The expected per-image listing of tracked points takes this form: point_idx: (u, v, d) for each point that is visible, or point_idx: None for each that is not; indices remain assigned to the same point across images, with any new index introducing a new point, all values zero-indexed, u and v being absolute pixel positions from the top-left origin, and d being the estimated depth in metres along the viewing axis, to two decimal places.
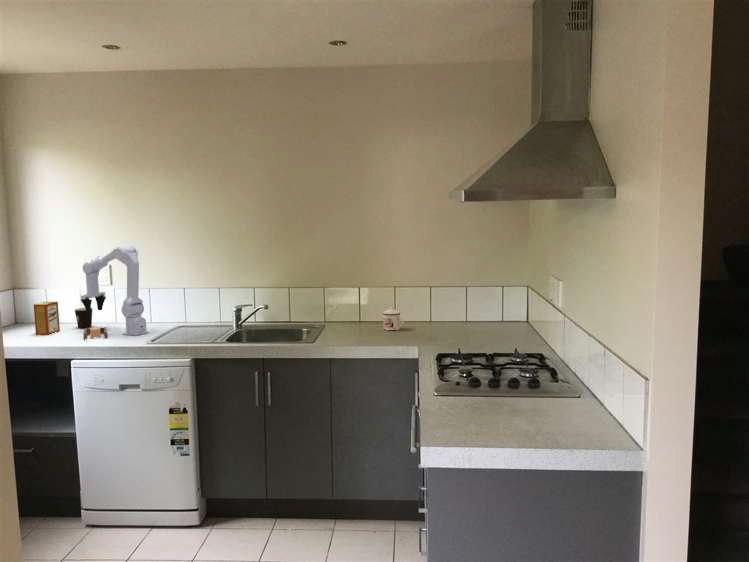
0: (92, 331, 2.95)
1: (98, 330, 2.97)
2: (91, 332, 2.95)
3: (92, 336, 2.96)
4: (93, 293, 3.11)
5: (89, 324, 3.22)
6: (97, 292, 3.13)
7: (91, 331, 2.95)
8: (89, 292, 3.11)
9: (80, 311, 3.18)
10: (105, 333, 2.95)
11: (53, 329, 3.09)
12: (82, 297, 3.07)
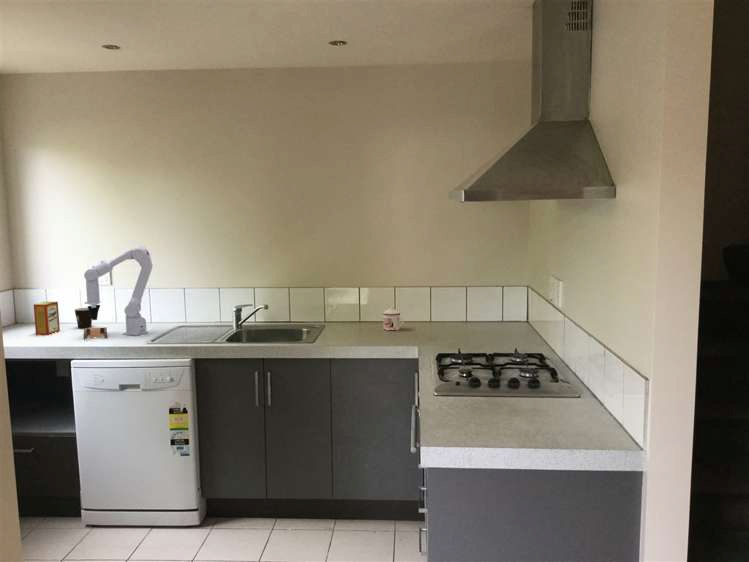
0: (92, 331, 2.95)
1: (98, 330, 2.97)
2: (91, 332, 2.95)
3: (92, 336, 2.96)
4: (98, 300, 3.00)
5: (89, 324, 3.22)
6: (99, 299, 3.02)
7: (91, 331, 2.95)
8: (94, 300, 2.98)
9: (80, 311, 3.18)
10: (105, 333, 2.95)
11: (53, 329, 3.09)
12: (93, 305, 2.94)
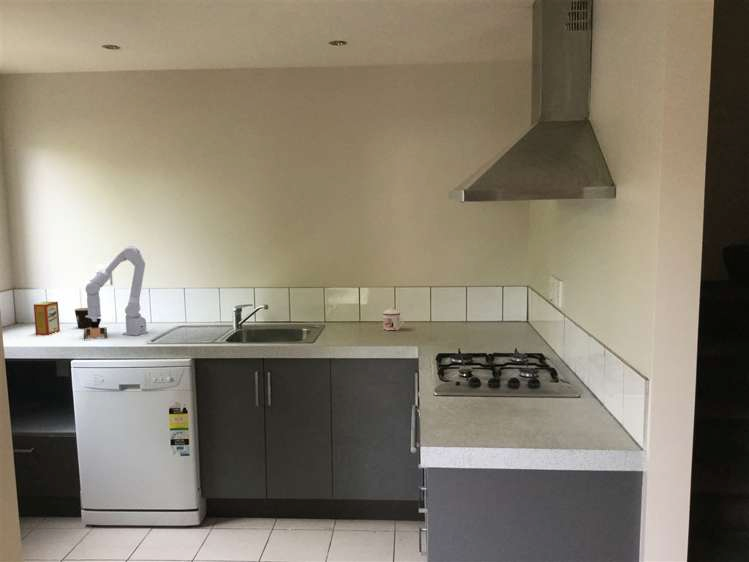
0: (92, 331, 2.95)
1: (98, 330, 2.96)
2: (91, 332, 2.95)
3: (92, 336, 2.95)
4: (99, 314, 2.99)
5: (89, 324, 3.22)
6: (100, 313, 3.01)
7: (91, 331, 2.95)
8: (95, 314, 2.98)
9: (80, 311, 3.18)
10: (105, 333, 2.95)
11: (53, 329, 3.09)
12: (94, 319, 2.94)
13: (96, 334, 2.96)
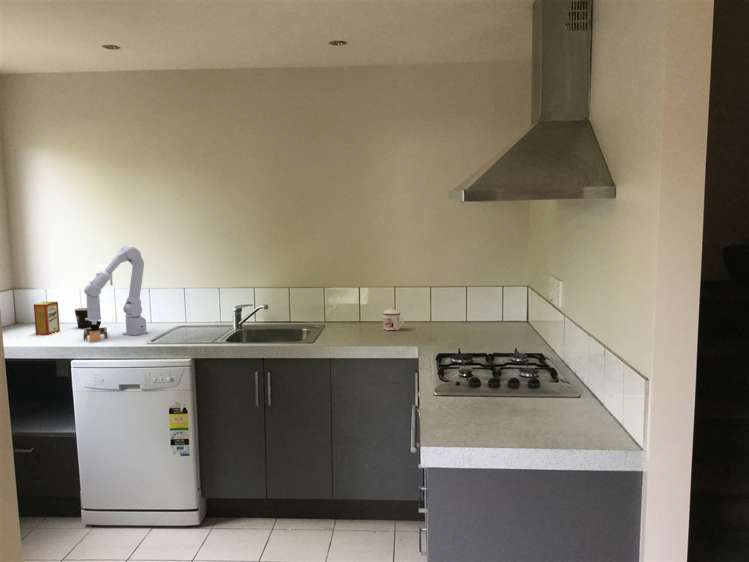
0: (92, 334, 2.88)
1: (98, 333, 2.89)
2: (91, 335, 2.88)
3: (92, 339, 2.88)
4: (99, 317, 2.92)
5: None
6: (100, 315, 2.94)
7: (91, 334, 2.87)
8: (95, 316, 2.90)
9: (80, 311, 3.18)
10: (105, 333, 2.95)
11: (53, 329, 3.09)
12: (94, 322, 2.86)
13: (96, 337, 2.89)
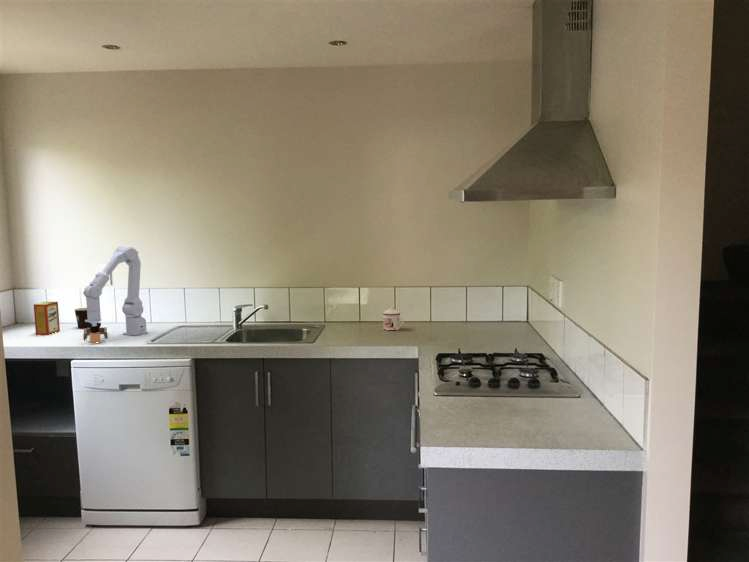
0: (92, 336, 2.83)
1: (98, 335, 2.84)
2: (91, 337, 2.83)
3: (92, 341, 2.84)
4: (99, 318, 2.87)
5: None
6: (100, 317, 2.90)
7: (90, 336, 2.83)
8: (95, 318, 2.86)
9: (80, 311, 3.18)
10: (105, 333, 2.95)
11: (53, 329, 3.08)
12: (94, 324, 2.82)
13: (96, 339, 2.84)
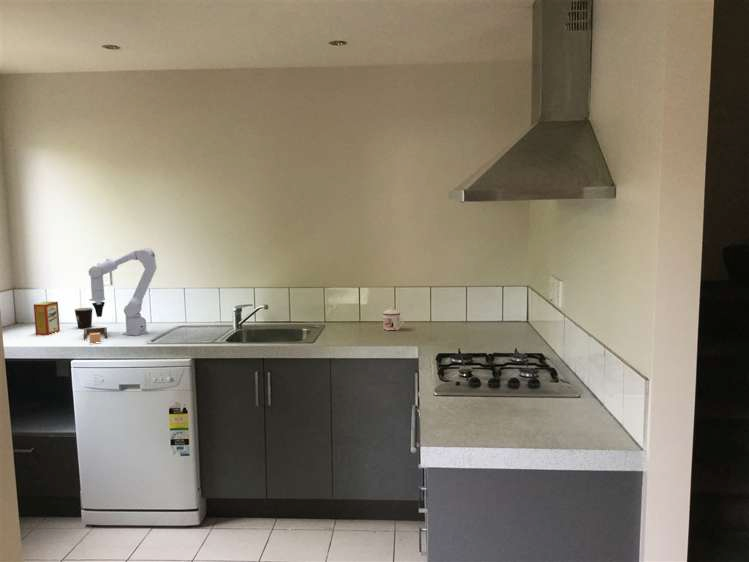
0: (92, 336, 2.83)
1: (98, 335, 2.84)
2: (91, 338, 2.83)
3: (92, 341, 2.83)
4: (102, 297, 3.01)
5: (89, 324, 3.22)
6: None
7: (91, 336, 2.83)
8: (99, 297, 3.00)
9: (80, 311, 3.18)
10: (105, 333, 2.95)
11: (53, 329, 3.09)
12: (99, 302, 2.96)
13: (96, 339, 2.84)
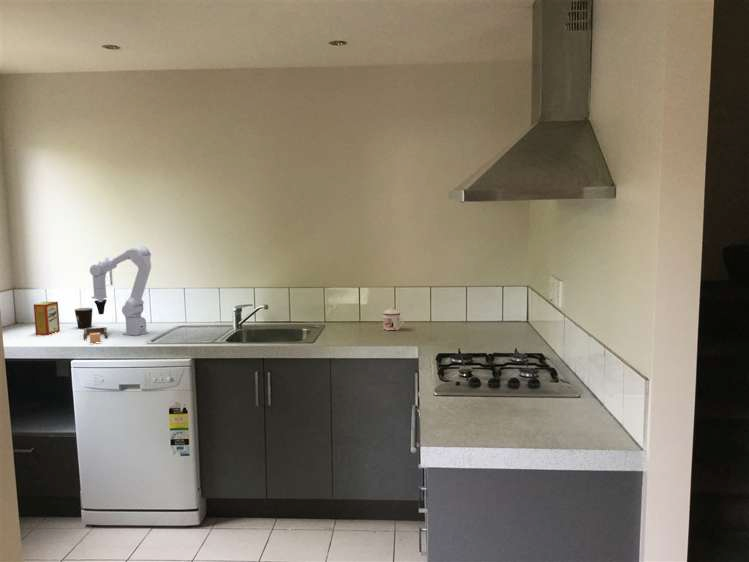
0: (92, 336, 2.83)
1: (98, 335, 2.84)
2: (91, 338, 2.83)
3: (92, 341, 2.83)
4: (104, 295, 3.07)
5: (89, 324, 3.22)
6: None
7: (91, 336, 2.83)
8: (100, 294, 3.06)
9: (80, 311, 3.18)
10: (105, 333, 2.95)
11: (53, 329, 3.09)
12: (100, 300, 3.02)
13: (96, 339, 2.84)
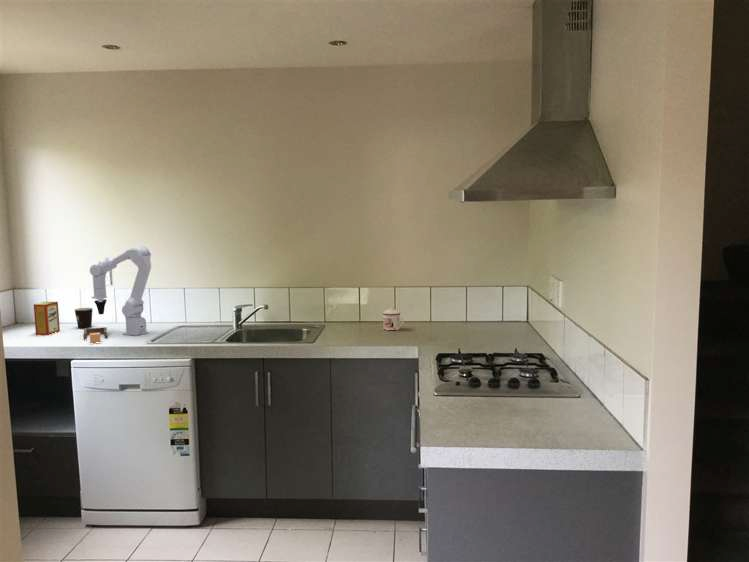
0: (92, 336, 2.83)
1: (98, 335, 2.84)
2: (91, 338, 2.83)
3: (92, 341, 2.83)
4: (104, 295, 3.07)
5: (89, 324, 3.22)
6: None
7: (91, 336, 2.83)
8: (100, 294, 3.06)
9: (80, 311, 3.18)
10: (105, 333, 2.95)
11: (53, 329, 3.09)
12: (100, 300, 3.02)
13: (96, 339, 2.84)
